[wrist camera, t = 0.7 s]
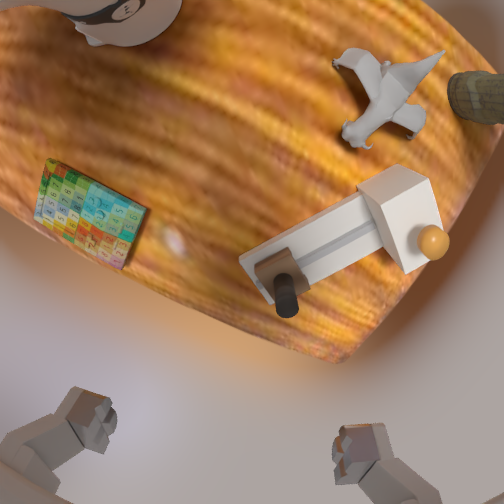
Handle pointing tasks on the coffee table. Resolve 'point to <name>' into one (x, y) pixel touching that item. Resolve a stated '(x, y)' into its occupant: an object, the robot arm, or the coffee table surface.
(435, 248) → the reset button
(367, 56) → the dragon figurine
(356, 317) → the coffee table surface
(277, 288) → the carriage
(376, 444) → the robot arm
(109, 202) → the puzzle game
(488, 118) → the thermos
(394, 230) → the rail base
